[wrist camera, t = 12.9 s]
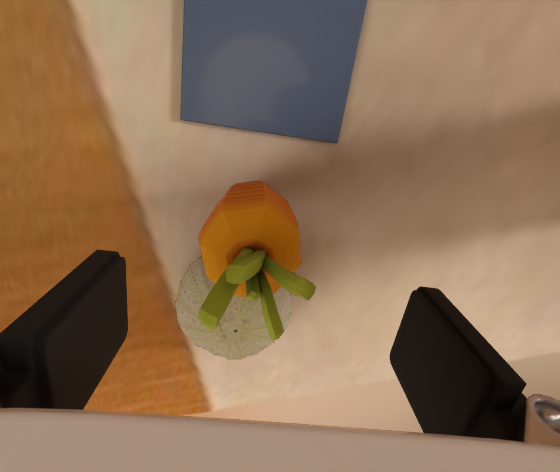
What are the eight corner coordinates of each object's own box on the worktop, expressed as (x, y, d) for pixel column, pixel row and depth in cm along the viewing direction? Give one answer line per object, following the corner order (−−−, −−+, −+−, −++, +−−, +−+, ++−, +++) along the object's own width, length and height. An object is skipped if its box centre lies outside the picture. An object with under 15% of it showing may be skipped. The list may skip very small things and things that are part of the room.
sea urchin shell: (290, 237, 24) (300, 352, 21) (285, 268, 31) (292, 356, 28) (164, 244, 23) (156, 362, 20) (189, 274, 31) (186, 364, 28)
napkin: (375, -45, 19) (377, -48, 19) (336, 142, 23) (337, 143, 23) (188, -87, 18) (186, -91, 18) (181, 119, 22) (180, 119, 22)
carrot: (294, 171, 24) (345, 263, 10) (275, 231, 26) (297, 380, 12) (228, 152, 23) (186, 224, 9) (214, 215, 25) (159, 356, 11)
